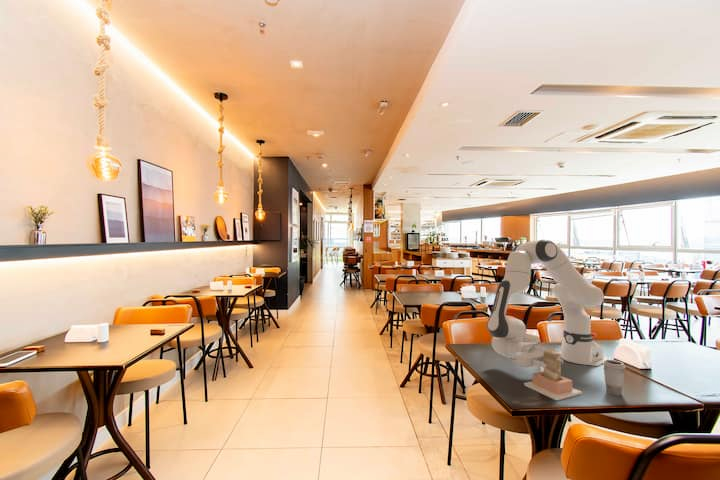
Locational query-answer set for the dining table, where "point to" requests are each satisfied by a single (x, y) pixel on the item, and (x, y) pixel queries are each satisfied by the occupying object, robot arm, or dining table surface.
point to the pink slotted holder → (552, 387)
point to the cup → (614, 376)
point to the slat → (552, 365)
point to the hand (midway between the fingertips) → (554, 363)
